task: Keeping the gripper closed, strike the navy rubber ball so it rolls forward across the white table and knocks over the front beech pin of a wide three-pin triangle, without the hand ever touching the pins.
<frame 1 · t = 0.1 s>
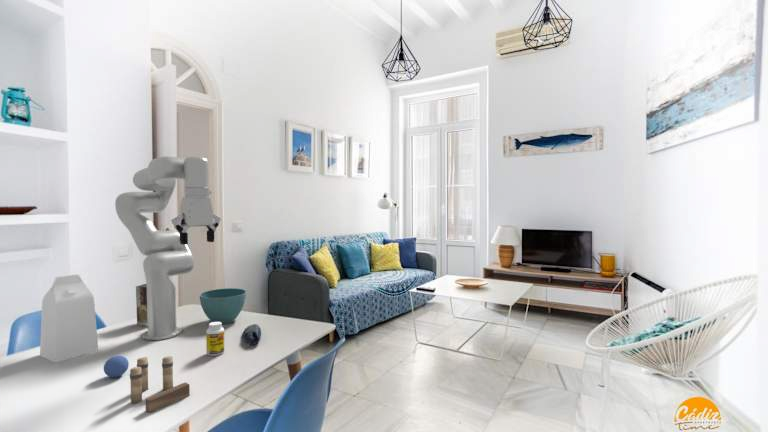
hand: (197, 243, 133), 37 cm above the table, tool pointing down, fingers open, 9 cm apart
fish model: (252, 338, 145), on the table
teal bowl: (223, 321, 164), on the table
back left pin: (168, 388, 105), on the table
milk: (69, 353, 130), on the table
front pin: (143, 389, 105), on the table
ball: (116, 366, 112), on the table
back wall: (168, 402, 98), on the table
coffee box: (151, 323, 161), on the table
supplement bottle: (215, 353, 130), on the table
back right pin: (136, 401, 99), on the table
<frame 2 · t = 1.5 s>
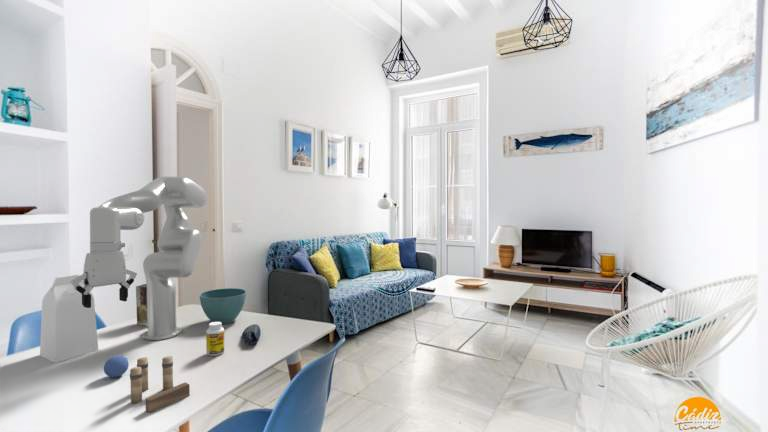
hand: (105, 303, 117), 20 cm above the table, tool pointing down, fingers open, 9 cm apart
nothing on the table moved.
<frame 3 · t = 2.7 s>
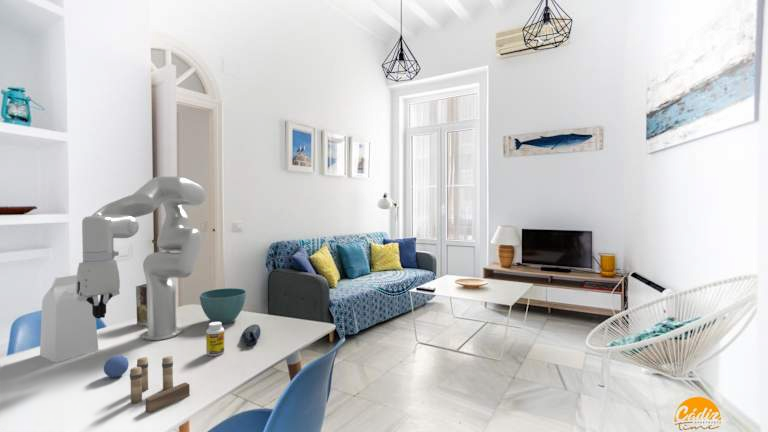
hand: (99, 317, 117), 16 cm above the table, tool pointing down, fingers closed
nothing on the table moved.
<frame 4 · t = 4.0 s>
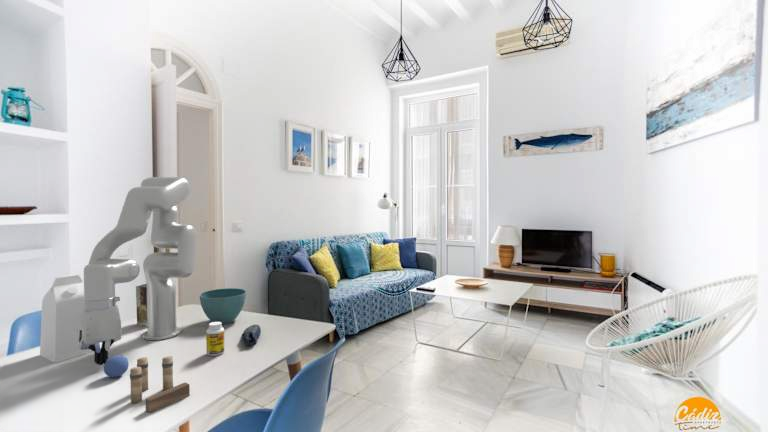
hand: (101, 363, 117), 2 cm above the table, tool pointing down, fingers closed
nothing on the table moved.
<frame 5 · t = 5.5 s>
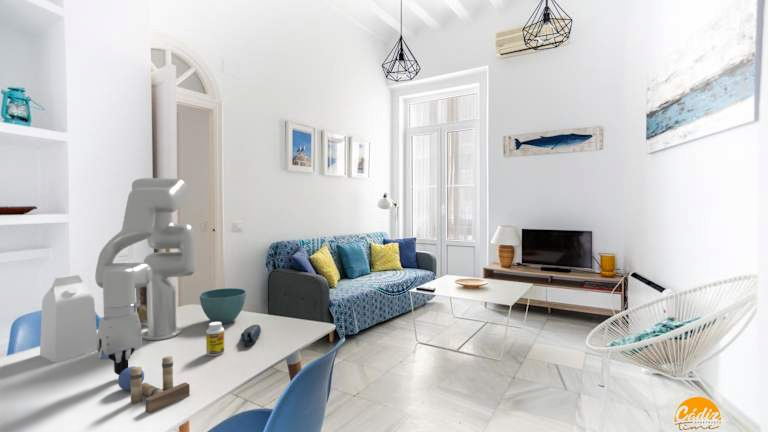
hand: (121, 373, 111), 2 cm above the table, tool pointing down, fingers closed
front pin: (143, 387, 104), point 1 cm above the table, tilted 89°
ball: (131, 378, 105), on the table
everything else where it was.
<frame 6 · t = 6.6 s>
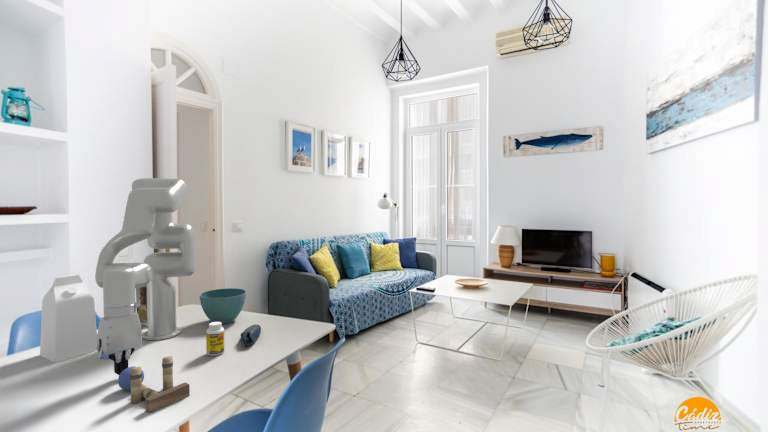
hand: (121, 373, 111), 2 cm above the table, tool pointing down, fingers closed
front pin: (139, 389, 103), point 1 cm above the table, tilted 89°
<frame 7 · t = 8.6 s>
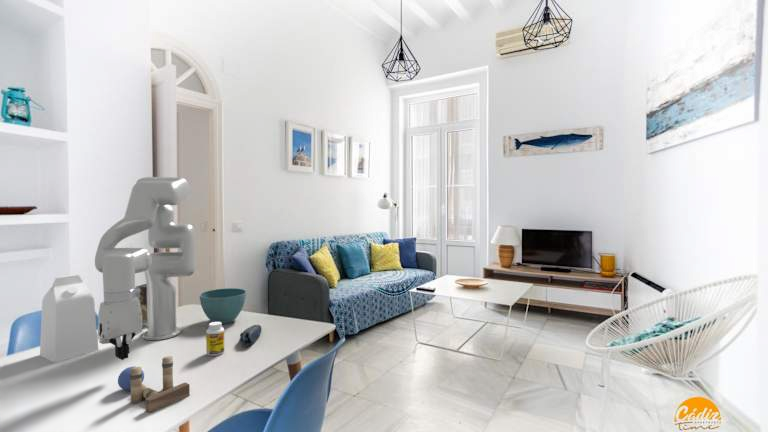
hand: (122, 357, 112), 6 cm above the table, tool pointing down, fingers closed
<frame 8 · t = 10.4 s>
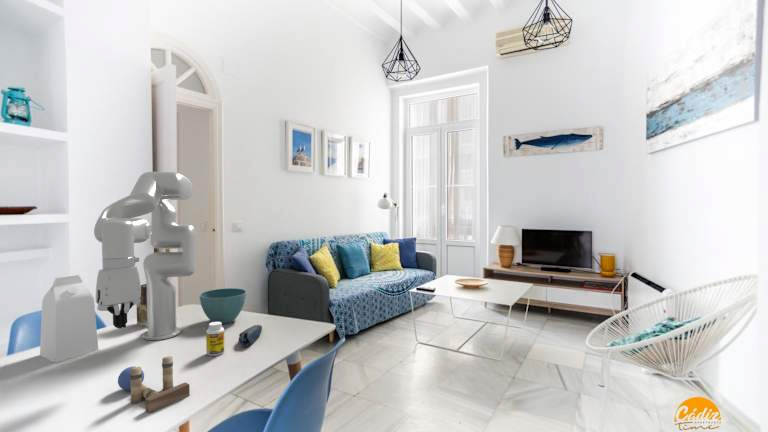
hand: (120, 327, 110), 15 cm above the table, tool pointing down, fingers closed
at the end: front pin tilted 89°; front pin never touched the robot; ball moved 12.0 cm from its start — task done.
